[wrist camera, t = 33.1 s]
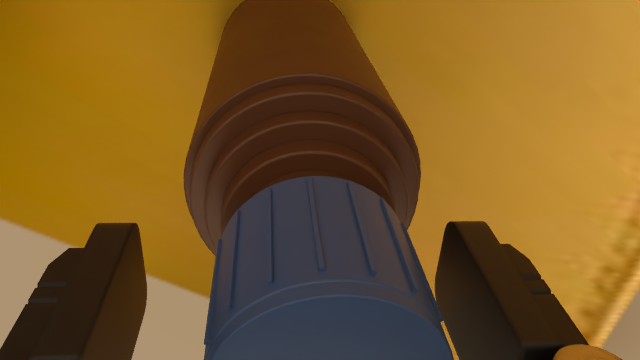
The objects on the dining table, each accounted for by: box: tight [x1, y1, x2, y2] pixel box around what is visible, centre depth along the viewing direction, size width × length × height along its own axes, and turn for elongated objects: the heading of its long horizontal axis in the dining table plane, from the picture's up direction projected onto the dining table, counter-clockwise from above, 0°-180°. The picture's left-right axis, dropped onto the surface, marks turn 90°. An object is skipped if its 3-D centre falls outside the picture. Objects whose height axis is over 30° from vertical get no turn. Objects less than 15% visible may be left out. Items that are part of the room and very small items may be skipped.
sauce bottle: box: [184, 0, 421, 256], centre depth 16 cm, size 6×6×18 cm
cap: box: [204, 176, 454, 360], centre depth 9 cm, size 4×4×3 cm
